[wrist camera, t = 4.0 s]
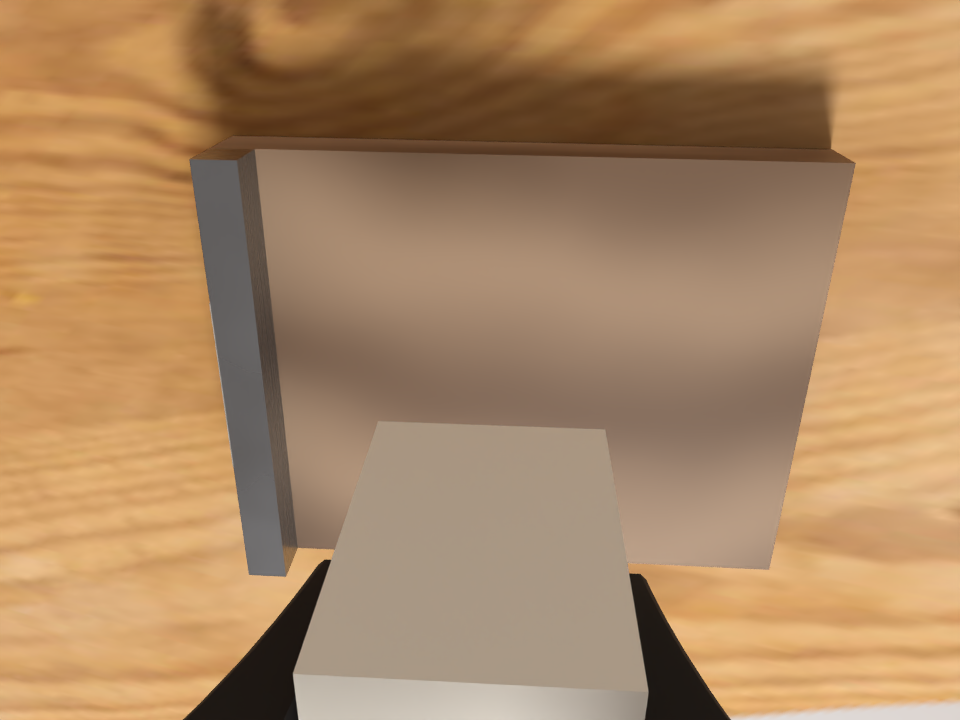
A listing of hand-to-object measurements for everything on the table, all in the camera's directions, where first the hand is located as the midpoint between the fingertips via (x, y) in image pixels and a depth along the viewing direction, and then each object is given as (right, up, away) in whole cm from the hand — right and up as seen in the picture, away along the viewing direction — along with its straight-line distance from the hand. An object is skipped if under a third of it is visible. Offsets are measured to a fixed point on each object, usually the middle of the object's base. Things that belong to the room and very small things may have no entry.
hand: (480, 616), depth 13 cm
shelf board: (+1, +4, +9) cm, 10 cm away
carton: (0, +1, +1) cm, 1 cm away
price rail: (-6, +4, +8) cm, 10 cm away
